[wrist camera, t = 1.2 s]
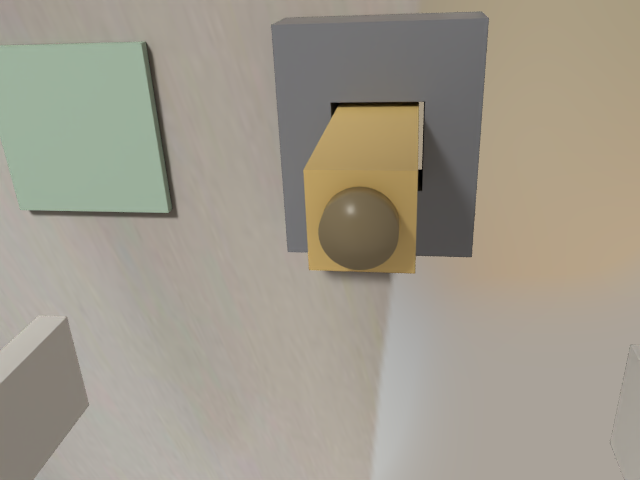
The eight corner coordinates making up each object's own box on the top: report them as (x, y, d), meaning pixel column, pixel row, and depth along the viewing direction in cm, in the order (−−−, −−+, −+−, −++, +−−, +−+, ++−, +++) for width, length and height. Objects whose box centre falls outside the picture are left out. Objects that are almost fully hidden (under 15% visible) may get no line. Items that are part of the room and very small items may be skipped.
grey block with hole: (285, 17, 32) (271, 24, 28) (481, 11, 30) (488, 18, 27) (299, 226, 37) (287, 251, 34) (467, 230, 35) (471, 257, 32)
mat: (-18, 45, 35) (-25, 47, 34) (145, 41, 33) (141, 43, 33) (25, 206, 39) (20, 209, 38) (172, 209, 37) (168, 212, 37)
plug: (344, 93, 33) (298, 179, 20) (418, 92, 32) (417, 180, 20) (346, 163, 35) (304, 282, 22) (416, 164, 34) (414, 286, 21)
